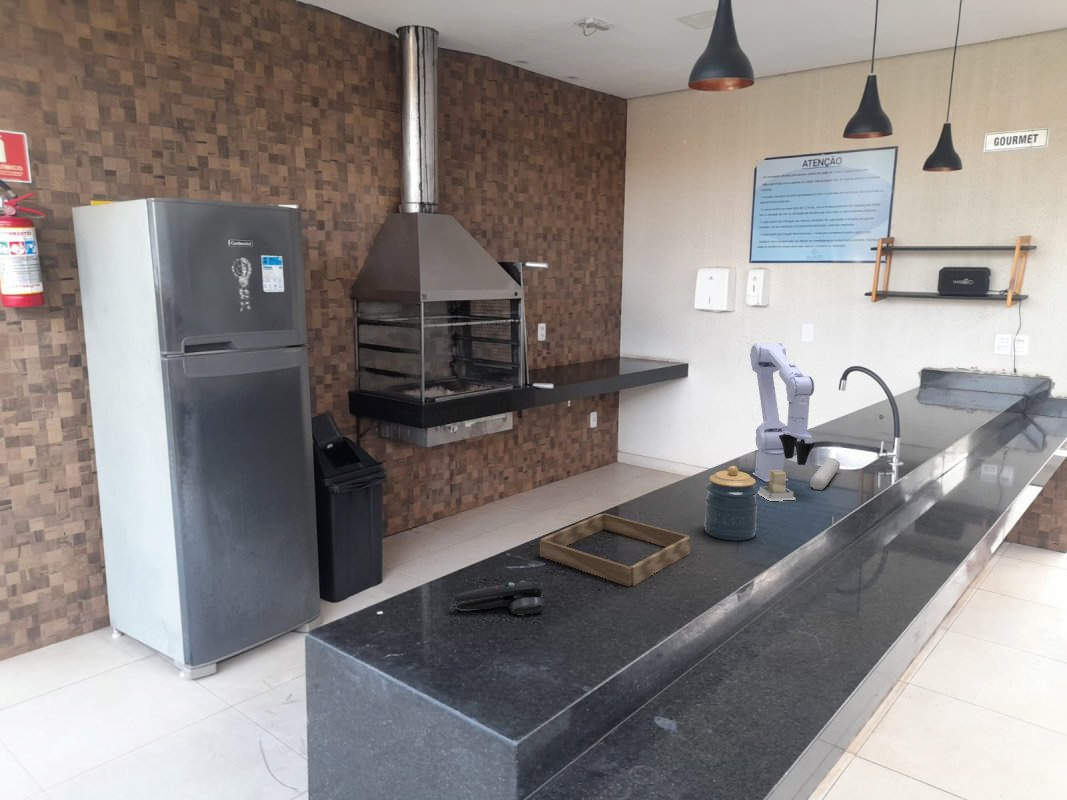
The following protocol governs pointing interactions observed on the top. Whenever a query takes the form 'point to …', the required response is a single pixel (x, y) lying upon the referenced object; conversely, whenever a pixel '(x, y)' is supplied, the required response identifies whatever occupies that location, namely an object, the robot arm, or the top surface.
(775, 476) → the wooden block
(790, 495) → the white square tray
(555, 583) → the top surface
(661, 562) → the wooden frame
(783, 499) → the tile
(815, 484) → the tube
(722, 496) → the canister
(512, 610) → the can opener
